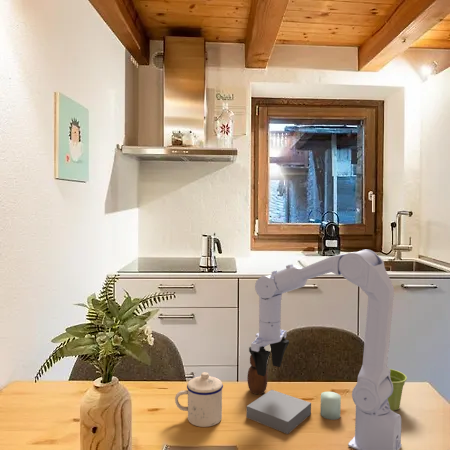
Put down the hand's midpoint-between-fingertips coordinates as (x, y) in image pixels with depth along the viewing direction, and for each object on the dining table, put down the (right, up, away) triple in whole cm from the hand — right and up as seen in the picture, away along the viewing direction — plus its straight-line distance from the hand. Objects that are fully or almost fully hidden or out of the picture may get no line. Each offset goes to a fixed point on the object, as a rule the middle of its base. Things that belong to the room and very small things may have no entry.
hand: (269, 370), depth 110 cm
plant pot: (+32, -10, +2) cm, 34 cm away
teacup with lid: (-18, -10, -6) cm, 22 cm away
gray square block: (+2, -10, -4) cm, 11 cm away
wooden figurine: (-2, -10, +10) cm, 14 cm away
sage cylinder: (+16, -10, -3) cm, 19 cm away
